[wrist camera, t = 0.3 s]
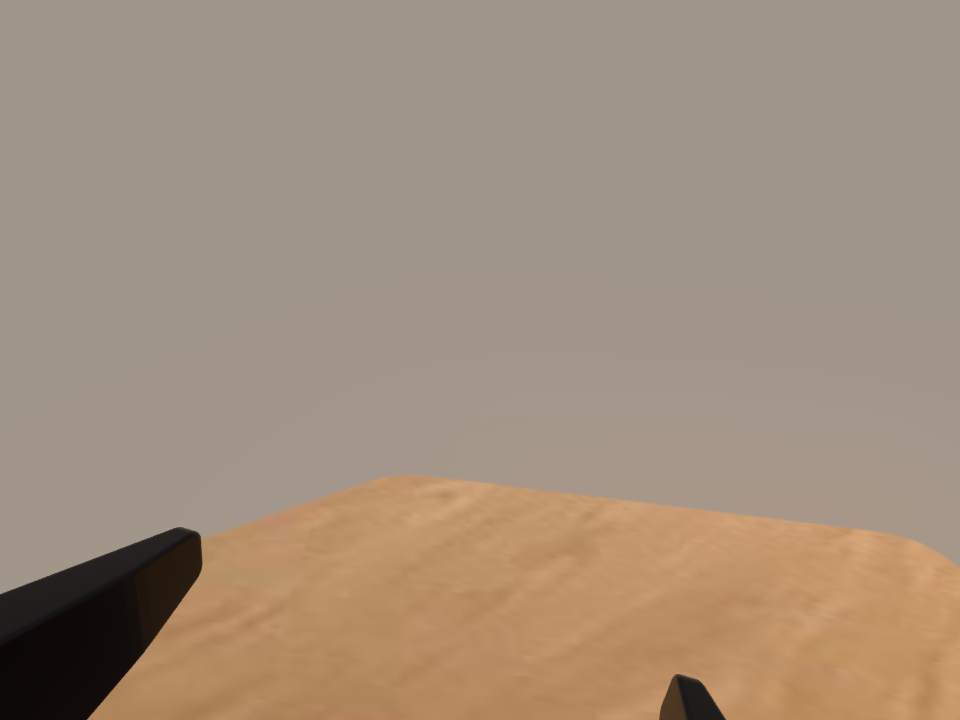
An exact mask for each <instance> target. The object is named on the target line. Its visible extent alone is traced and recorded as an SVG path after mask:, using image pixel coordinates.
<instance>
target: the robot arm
mask: <svg viewBox="0 0 960 720" xmlns="http://www.w3.org/2000/svg"><path fill="white" fill-rule="evenodd" d="M201 570H202V548H201V536H200V535H199V533H198V532H196V531H193V530H190V529H186V528H183V527H178V528H174V529H171V530H169V531H166V532H164V533H161V534H158V535H155V536H153V537H150V538H147V539H145V540H142V541H139V542H137V543H134V544H132V545H129V546H126V547H124V548H121V549H118V550H116V551H113V552H110V553H108V554H105V555H103V556H100V557H98V558H95V559H92V560H89V561H87V562H84V563H81V564H79V565H76V566H73V567H71V568H68V569H66V570H63V571H60V572H58V573H55V574H52V575H50V576H47V577H44V578H42V579H39V580H37V581H34V582H31V583H29V584H26V585H23V586H21V587H18V588H16V589H13V590H10V591H7V592H5V593H2V594H0V720H87V719H88V718H89V717H90V716H91V714H92V713H93V712H94V711H95V710H96V709H97V707H98V706H99V705H100V704H101V703H102V702H103V700H104V699H105V698H106V697H107V696H108V695H109V693H110V692H111V691H112V690H113V689H114V687H115V686H116V685H117V684H118V683H119V682H120V680H121V679H122V678H123V677H124V676H125V675H126V673H127V672H128V671H129V670H130V669H131V668H132V666H133V665H134V664H135V663H136V662H137V660H138V659H139V658H140V657H141V655H142V654H143V653H144V652H145V650H146V649H147V648H148V646H149V645H150V644H151V642H152V641H153V640H154V638H155V637H156V636H157V634H158V633H159V631H160V630H161V629H162V627H163V626H164V624H165V623H166V622H167V620H168V619H169V617H170V616H171V615H172V613H173V612H174V610H175V609H176V608H177V606H178V605H179V604H180V602H181V601H182V599H183V598H184V597H185V595H186V594H187V592H188V591H189V590H190V588H191V587H192V585H193V584H194V583H195V581H196V580H197V578H198V576H199V575H200V572H201ZM659 720H726V719H725V717H724V716H723V714H722V713H721V711H720V710H719V708H718V706H717V705H716V703H715V702H714V700H713V699H712V697H711V695H710V694H709V692H708V691H707V689H706V688H705V686H704V685H703V684H702V683H701V682H700V681H699V680H697V679H694V678H690V677H687V676H684V675H680V674H676V675H675V676H674V677H673V678H672V680H671V683H670V685H669V688H668V691H667V693H666V696H665V698H664V701H663V703H662V706H661V710H660V719H659Z"/></svg>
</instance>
